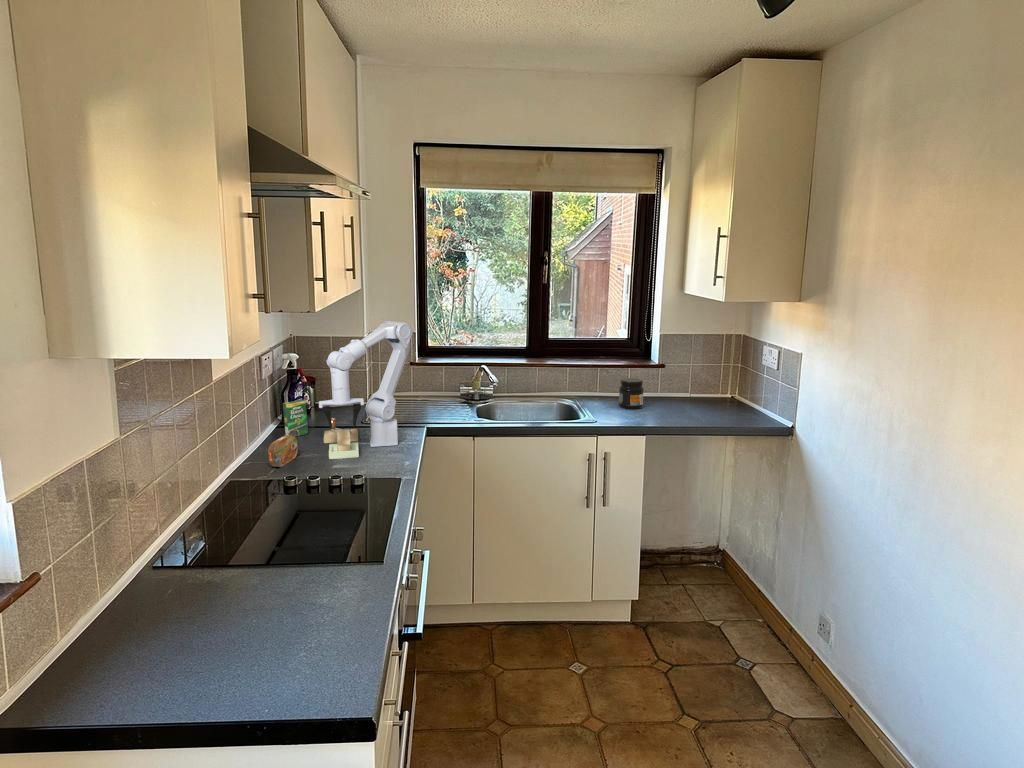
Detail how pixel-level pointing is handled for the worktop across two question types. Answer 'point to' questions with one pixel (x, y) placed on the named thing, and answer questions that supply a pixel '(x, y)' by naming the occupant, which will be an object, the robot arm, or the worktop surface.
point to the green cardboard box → (295, 418)
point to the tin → (283, 450)
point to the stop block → (343, 440)
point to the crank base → (332, 436)
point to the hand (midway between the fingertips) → (342, 426)
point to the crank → (337, 428)
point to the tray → (343, 454)
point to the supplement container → (631, 393)
